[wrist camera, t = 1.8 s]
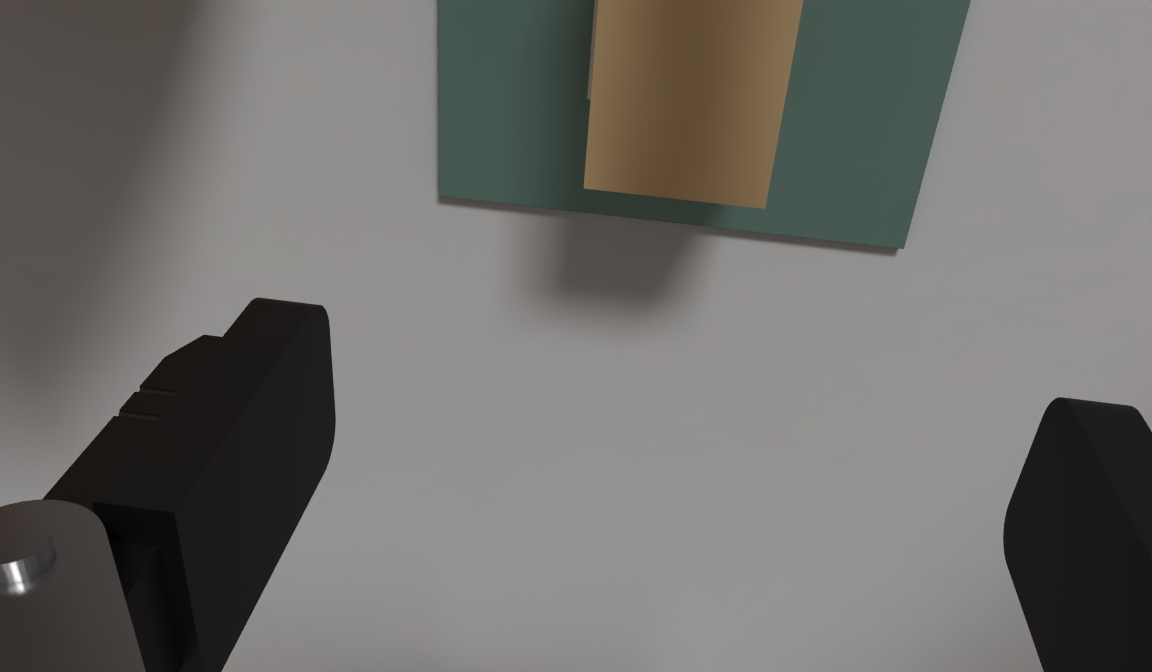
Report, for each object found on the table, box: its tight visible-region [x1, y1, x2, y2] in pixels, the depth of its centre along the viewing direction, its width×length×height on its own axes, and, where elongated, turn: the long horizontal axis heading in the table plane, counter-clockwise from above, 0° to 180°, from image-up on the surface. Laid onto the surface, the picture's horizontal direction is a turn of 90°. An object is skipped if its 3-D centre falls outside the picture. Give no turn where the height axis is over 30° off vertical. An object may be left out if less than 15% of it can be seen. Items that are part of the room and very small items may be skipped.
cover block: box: [584, 0, 803, 209], centre depth 28 cm, size 5×9×6 cm, turn 176°
